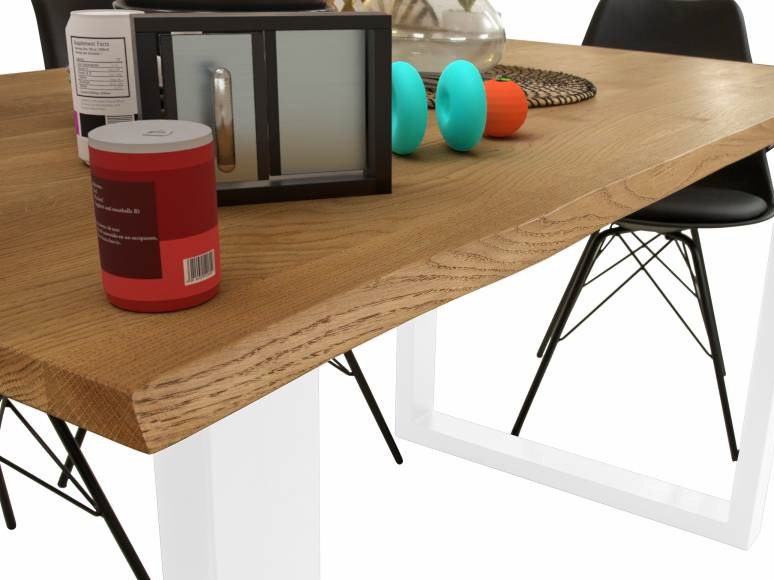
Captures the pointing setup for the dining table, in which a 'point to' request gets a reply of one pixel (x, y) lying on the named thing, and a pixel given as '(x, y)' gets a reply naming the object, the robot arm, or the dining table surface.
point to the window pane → (220, 96)
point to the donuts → (438, 106)
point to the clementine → (504, 107)
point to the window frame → (300, 98)
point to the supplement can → (100, 71)
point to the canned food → (156, 213)
